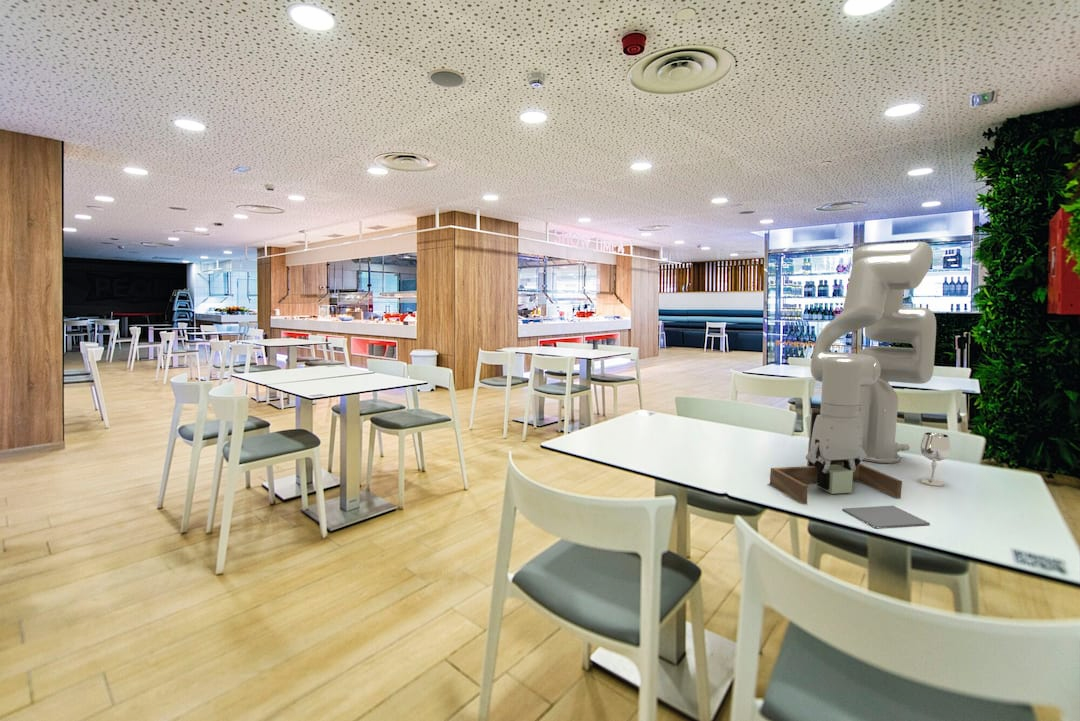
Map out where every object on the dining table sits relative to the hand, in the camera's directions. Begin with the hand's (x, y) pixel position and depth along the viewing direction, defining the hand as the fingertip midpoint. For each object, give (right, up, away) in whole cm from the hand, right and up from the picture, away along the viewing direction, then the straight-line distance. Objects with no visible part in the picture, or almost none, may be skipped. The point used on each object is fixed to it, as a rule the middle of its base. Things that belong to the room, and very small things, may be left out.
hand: (834, 486), depth 121 cm
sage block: (0, -1, 0) cm, 1 cm away
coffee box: (+6, 0, +14) cm, 15 cm away
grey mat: (+2, -3, -15) cm, 15 cm away
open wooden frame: (0, -1, 0) cm, 1 cm away
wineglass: (+27, -1, +6) cm, 28 cm away
